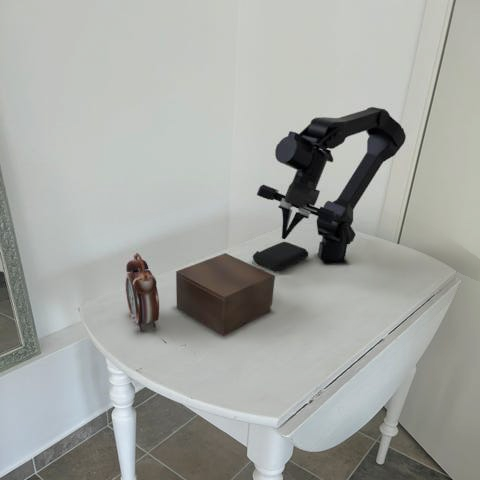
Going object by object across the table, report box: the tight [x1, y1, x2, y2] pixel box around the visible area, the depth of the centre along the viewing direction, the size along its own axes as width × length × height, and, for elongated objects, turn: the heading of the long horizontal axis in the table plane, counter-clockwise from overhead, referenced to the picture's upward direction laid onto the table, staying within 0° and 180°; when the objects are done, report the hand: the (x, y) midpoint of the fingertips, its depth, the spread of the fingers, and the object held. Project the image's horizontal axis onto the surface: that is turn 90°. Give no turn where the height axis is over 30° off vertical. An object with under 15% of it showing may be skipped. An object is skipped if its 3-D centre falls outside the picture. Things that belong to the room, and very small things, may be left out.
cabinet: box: [175, 252, 275, 337], centre depth 103 cm, size 15×15×9 cm
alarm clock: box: [124, 252, 160, 332], centre depth 96 cm, size 11×5×15 cm, turn 23°
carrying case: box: [252, 241, 309, 273], centre depth 128 cm, size 11×3×15 cm
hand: (283, 238), depth 115 cm, fingers closed
